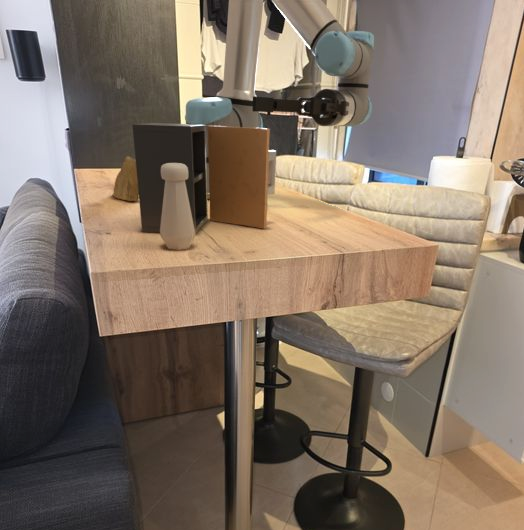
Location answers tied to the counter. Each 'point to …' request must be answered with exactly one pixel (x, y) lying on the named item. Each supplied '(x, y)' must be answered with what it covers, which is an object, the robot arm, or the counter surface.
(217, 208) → the door
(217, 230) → the counter surface
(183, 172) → the salt shaker
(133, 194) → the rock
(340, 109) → the robot arm
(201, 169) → the dark grey cabinet
